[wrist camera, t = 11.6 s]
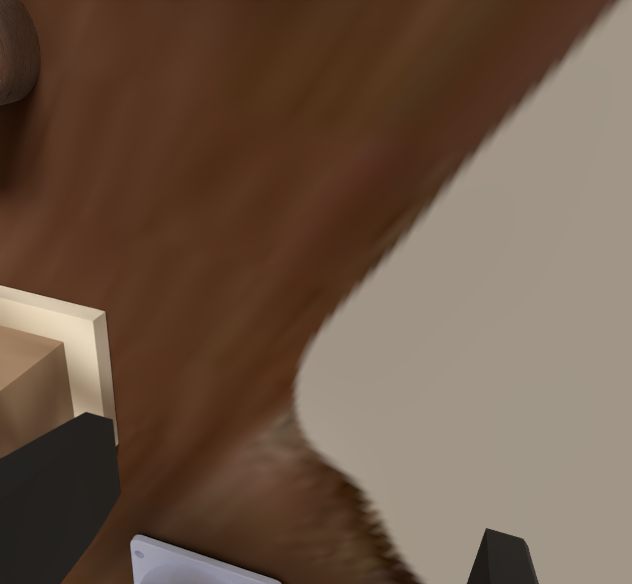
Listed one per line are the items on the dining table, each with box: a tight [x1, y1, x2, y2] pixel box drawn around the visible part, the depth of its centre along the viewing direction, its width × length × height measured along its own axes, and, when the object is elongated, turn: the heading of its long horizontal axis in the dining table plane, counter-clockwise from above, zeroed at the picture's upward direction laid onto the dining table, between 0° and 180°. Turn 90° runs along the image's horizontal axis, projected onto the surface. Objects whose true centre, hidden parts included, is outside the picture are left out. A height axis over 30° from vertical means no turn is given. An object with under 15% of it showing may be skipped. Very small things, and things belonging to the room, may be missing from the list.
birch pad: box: [0, 286, 119, 446], centre depth 24 cm, size 7×7×1 cm
